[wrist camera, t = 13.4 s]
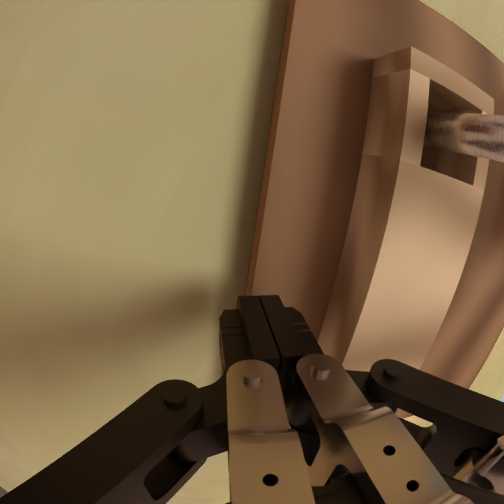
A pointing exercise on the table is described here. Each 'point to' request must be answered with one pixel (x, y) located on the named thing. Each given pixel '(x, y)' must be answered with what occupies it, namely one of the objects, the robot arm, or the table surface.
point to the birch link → (405, 218)
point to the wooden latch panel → (349, 159)
